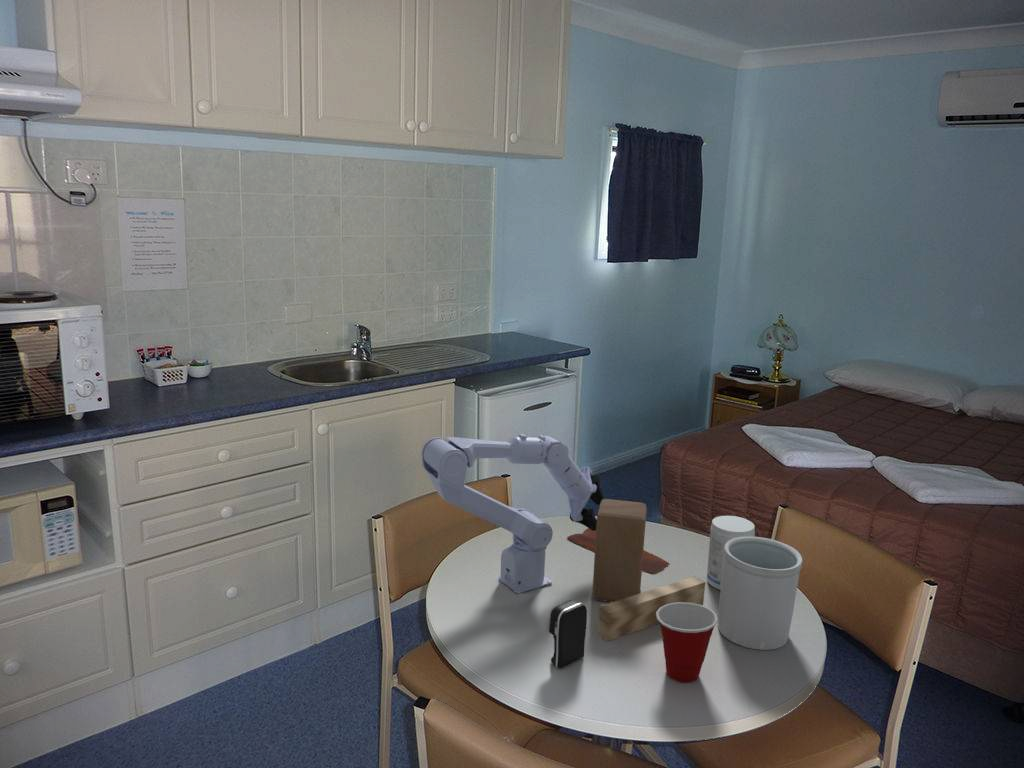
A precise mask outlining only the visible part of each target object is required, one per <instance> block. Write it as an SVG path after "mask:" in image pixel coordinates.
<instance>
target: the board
mask: <svg viewBox="0 0 1024 768" xmlns="http://www.w3.org/2000/svg"><path fill="white" fill-rule="evenodd" d="M705 587H706V581H704V580H703V579H701V578H699V577H698V576H695V575H693V576H692V577H691V576H690V577H687V578H685V579H682V580H679V581H676V582H675V581H674V582H672V583H669V584H666V585H663V586H662V585H661V586H659V587H657V588H653V589H650V590H647V591H644V592H640V594H637V595H634V596H631V597H628V598H624V599H621V600H618V601H615V602H609V603H607V604H603V605H600V606H599V613H598V614H599V615H598V626H597V627H598V628H597V629H598V630H597V634H598V635H599V636H600V635H601V636H600V637H602V638H603V639H604V638H605V641H607V642H609V641H611V640H614V639H618V638H620V636H621V637H624V636H626V635H629V634H633V633H634V632H637V630H638V631H641V630H643V628H644V629H646V628H649V627H652V626H655V625H658V624H660V623H659V621H658V620H657V615H656V612H657V611H658V609H659V608H660V607H662V606H664V605H667V604H671V603H677V602H685V603H694V604H699V605H702V606H704V599H705V590H706V588H705ZM640 629H641V630H640Z"/></svg>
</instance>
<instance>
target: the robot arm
mask: <svg viewBox="0 0 1024 768" xmlns="http://www.w3.org/2000/svg"><path fill="white" fill-rule="evenodd" d="M445 438H446V439H445ZM445 438H443V437H440V436H436V437H435V436H434V437H431V438H430V439H428V440H426V442H424V444H423V446H422V449H421V462H422V464H421V466H422V468H423V469H424V471H425V472H426V474H427V475H428V476H429V479H430V480H431V483H432V485H433V487H434V489H435V490H436V493H437V494H438V496H440V498H442V499H443V500H444V501H445V502H447V503H449V504H451V505H453V506H455V507H458V508H460V509H462V510H464V511H466V512H468V513H470V514H471V515H474V516H476V517H478V518H480V519H482V520H485V521H487V522H489V523H492V524H493V525H495V526H497V527H500V528H502V529H503V530H505V531H508V532H510V533H511V534H512V544H511V545H510V546H508V547H507V548H504V549H503V550H502V551H501V555H500V576H498V580H499V581H501V582H502V583H504V584H505V585H506V586H507V587H508V588H510V589H511V590H512V591H513V592H515V593H516V594H520V593H523V592H528V591H531V590H534V589H539V588H541V587H546V586H548V585H552V583H553V581H552V580H551V579H549V578H548V577H547V576H545V572H546V571H545V569H546V568H545V567H546V549H547V546H549V544H550V543H551V541H552V539H553V536H554V535H553V534H554V533H553V532H554V531H553V529H552V526H551V525H550V524H549V523H547V522H545V521H543V520H542V519H540V518H539V517H537V516H536V515H535V514H533V513H532V512H531V511H530V510H529V509H526V508H515V507H513V506H509V505H507V504H505V503H503V502H501V501H499V500H496V499H495V498H492V497H491V496H489V495H487V494H484V493H482V492H480V491H479V490H476V489H474V488H472V487H470V486H468V485H466V484H465V479H466V475H467V474H466V473H467V469H468V468H469V469H470V468H472V467H473V465H474V464H475V462H476V460H477V459H504V458H505V459H507V460H508V462H510V464H513V465H514V464H517V465H519V464H521V465H522V464H523V465H524V464H525V465H540V464H543V465H544V467H545V468H546V469H547V471H548V472H549V474H550V475H551V476H552V478H553V479H554V480H555V482H557V484H558V485H559V487H560V488H561V489H562V490H563V492H564V493H565V494H566V496H567V498H568V503H569V509H570V513H569V514H570V515H569V520H571V521H572V522H575V523H578V524H581V525H582V526H585V527H586V528H587V529H588V528H589V529H591V530H592V531H595V530H596V526H597V517H596V516H595V512H594V508H593V507H592V508H589V509H588V508H586V507H585V506H586V504H587V503H588V501H589V499H591V501H592V502H593V503H594V504H596V505H597V506H600V503H601V501H602V500H603V499H605V497H604V493H603V491H602V487H601V483H600V481H601V480H600V476H599V475H598V474H593V470H592V469H591V468H590V467H589V466H584V467H581V468H579V466H578V465H577V464H576V463H575V461H574V459H572V457H571V456H570V455H569V453H570V452H569V447H568V446H567V445H565V443H562V442H561V441H559V440H557V439H556V438H553V437H552V436H550V435H546V434H540V435H538V436H536V437H535V436H534V437H533V436H527V435H526V434H524V433H518V436H512V437H510V438H509V439H507V441H500V440H488V439H477V438H468V437H458V436H457V437H456V436H446V437H445ZM447 440H448V441H447ZM592 474H593V475H592Z"/></svg>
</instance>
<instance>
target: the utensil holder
mask: <svg viewBox="0 0 1024 768" xmlns="http://www.w3.org/2000/svg"><path fill="white" fill-rule="evenodd" d="M724 555H725V558H724V566H723V574H722V584H721V590H720V594H719V605H718V615H717V619H718V621H717V626H718V629H719V632H720V634H721V635H722V636H723V637H724V638H726V639H727V640H729V641H730V642H732V643H734V644H736V645H738V646H741V647H743V648H746V649H747V648H748V649H752V650H759V651H760V650H761V651H771V650H777V649H779V648H782V647H784V646H785V645H786V644H787V642H788V640H789V636H790V630H791V625H792V619H793V614H794V608H795V602H796V601H795V600H796V595H797V591H798V586H799V585H798V584H799V579H800V578H799V577H800V571H801V570H802V567H803V558H802V555H801V553H800V552H799V551H798V550H797V549H796V548H794V547H792V546H790V545H789V544H786V543H784V542H780V541H778V540H775V539H772V538H766V537H761V536H755V537H737V538H734V539H731V540H729V541H728V542H727V543H726V544H725V547H724Z"/></svg>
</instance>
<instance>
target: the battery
mask: <svg viewBox="0 0 1024 768" xmlns="http://www.w3.org/2000/svg"><path fill="white" fill-rule="evenodd" d="M587 618H588V608H587V606H586V605H585V604H584V603H583V602H579V601H578V600H576V599H570V600H566V601H565V602H562V603H559V604H558V605H556V606H555V607H553V608H552V609H551V611H550V615H549V626H548V627H549V629H548V631H549V634H551V635H552V636H553V641H554V642H553V643H554V644H553V645H554V646H553V649H554V651H553V656H552V657H551V658H550V662H551V664H552V665H554V667H556V668H557V669H560V670H561V669H563V668H565V667H567V666H571V665H572V664H573V663H576V662H578V661H579V660H580V659H583V658H584V657H585V646H586V645H585V644H586V634H587V621H588V619H587Z"/></svg>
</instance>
